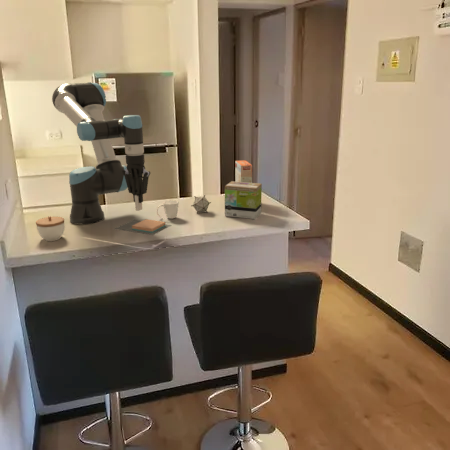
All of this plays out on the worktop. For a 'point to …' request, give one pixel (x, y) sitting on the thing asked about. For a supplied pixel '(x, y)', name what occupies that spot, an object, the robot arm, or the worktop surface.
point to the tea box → (243, 199)
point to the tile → (148, 226)
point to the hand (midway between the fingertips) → (139, 209)
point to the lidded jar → (50, 228)
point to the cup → (170, 209)
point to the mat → (129, 228)
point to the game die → (200, 204)
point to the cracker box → (243, 171)
